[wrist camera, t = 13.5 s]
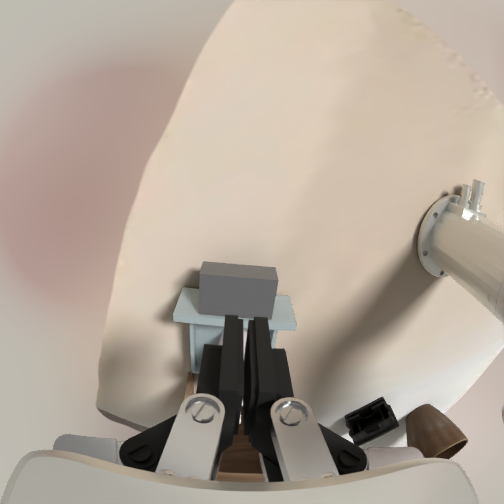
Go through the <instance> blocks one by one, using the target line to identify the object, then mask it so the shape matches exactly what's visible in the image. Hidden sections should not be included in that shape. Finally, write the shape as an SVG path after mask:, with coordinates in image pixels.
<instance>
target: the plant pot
mask: <svg viewBox="0 0 504 504" xmlns="http://www.w3.org/2000/svg"><path fill="white" fill-rule="evenodd" d="M406 433H407V445H408V447H415V448H417V449H419V450H420V451H421V452H422V454H423V456H424V458H442V459H450V458H451V457H453V456H454V455H455V454H456V453H458V452H459V451H460V450H461V449H462V448H463V447H464V446H465V445H466V443H467V442H468V439H467V438H466V436H465V435H464V434H463V433H462V432H461V431H460V429H459V428H458V427H457V426H456V425H455V424H454V423H453V422H452V421H451V420H450V419H449V418H447V417H446V416H445V415H444V414H443V413H441V412H440V411H439V410H437V409H436V408H435V407H433V406H431V405H430V404H425V405H422V406H420V407H418V408H417V409H415V410H414V411H412V412H411V413H410V414H409V415H408V417H407V419H406Z"/></svg>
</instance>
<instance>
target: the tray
mask: <svg viewBox="0 0 504 504" xmlns="http://www.w3.org/2000/svg"><path fill="white" fill-rule="evenodd" d="M277 285H278V277H277V273H276V268H275V267H262V266H250V265H238V264H226V263H215V262H203V264H202V267H201V270H200V273H199V289H195V288H185V287H183V289H182V291H181V294H180V297H179V299H178V302H177V305H176V307H175V310H174V313H173V321H175V322H183V323H190V353H191V373H196V374H199V372H200V366H201V359H202V353H203V347H204V344H213V345H219V342H220V338H221V335H222V332H223V331H224V323H225V314H228V315H238V319H243V329H245V330H246V331H247V330H248V322H249V320H254V316H255V317H267V318H268V323H269V331H270V338H271V346H272V348H274V347H275V343H276V338H277V333H278V330H290V331H295V330H296V326H297V322H296V318H295V315H294V311H293V307H292V304H291V300H290V296H282V295H276V291H277Z"/></svg>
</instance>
